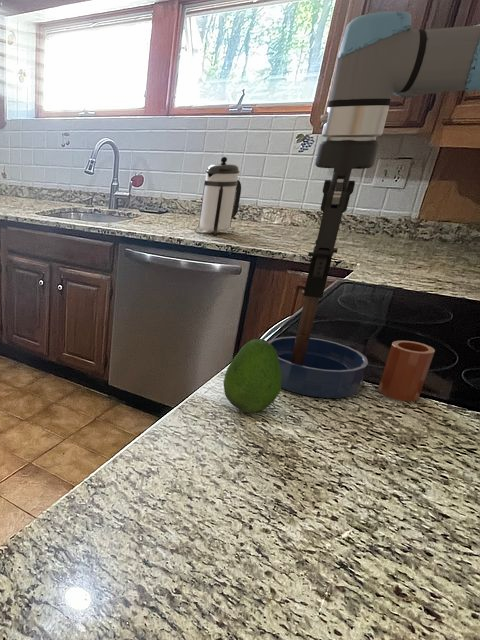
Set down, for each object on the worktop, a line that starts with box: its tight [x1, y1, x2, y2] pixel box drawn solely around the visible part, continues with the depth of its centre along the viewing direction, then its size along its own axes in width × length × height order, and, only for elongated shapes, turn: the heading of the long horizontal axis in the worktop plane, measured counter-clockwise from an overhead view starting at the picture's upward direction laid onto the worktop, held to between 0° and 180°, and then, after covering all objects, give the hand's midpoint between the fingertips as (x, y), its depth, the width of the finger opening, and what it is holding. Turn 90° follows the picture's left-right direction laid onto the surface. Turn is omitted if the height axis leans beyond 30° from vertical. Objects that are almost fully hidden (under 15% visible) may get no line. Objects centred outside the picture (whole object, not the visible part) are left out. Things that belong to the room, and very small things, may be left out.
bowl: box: [268, 336, 369, 399], centre depth 90 cm, size 15×15×6 cm
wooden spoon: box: [290, 296, 320, 366], centre depth 86 cm, size 3×2×24 cm, turn 149°
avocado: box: [223, 338, 282, 413], centre depth 80 cm, size 8×8×12 cm
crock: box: [377, 340, 436, 402], centre depth 84 cm, size 5×6×9 cm
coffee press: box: [194, 156, 242, 237], centre depth 216 cm, size 17×16×30 cm
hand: (313, 294), depth 86 cm, fingers closed on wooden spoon, 2 cm apart
